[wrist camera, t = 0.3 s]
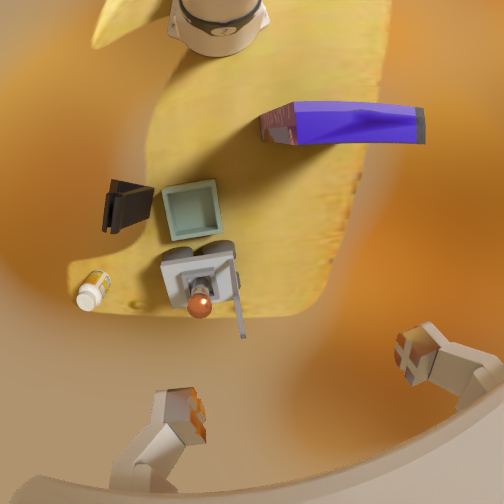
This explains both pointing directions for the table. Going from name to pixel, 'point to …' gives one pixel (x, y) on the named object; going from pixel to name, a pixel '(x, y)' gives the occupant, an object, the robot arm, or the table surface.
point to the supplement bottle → (93, 290)
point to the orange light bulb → (199, 298)
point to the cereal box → (343, 123)
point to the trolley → (208, 265)
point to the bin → (192, 209)
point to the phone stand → (126, 205)
